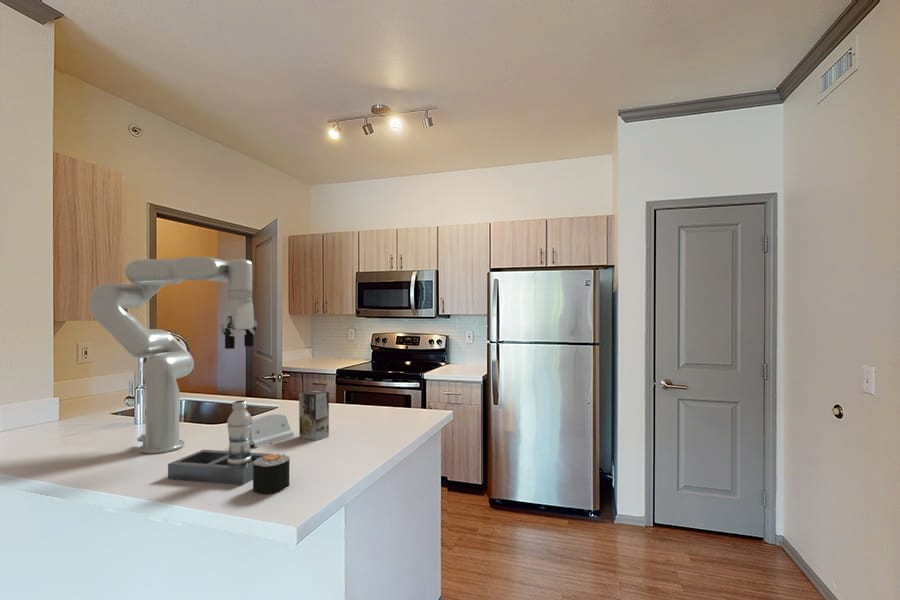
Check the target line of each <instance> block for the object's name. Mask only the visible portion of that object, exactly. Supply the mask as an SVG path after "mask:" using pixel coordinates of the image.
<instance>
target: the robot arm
mask: <svg viewBox="0 0 900 600" xmlns="http://www.w3.org/2000/svg"><path fill="white" fill-rule="evenodd" d="M124 276H125V277H126V278H127V280H128V281H129V282H131V283H130V284H129V283H128V284H127V283H120V282H119V283H117V282H107V283H102V284H99V285H97V286H96V287H95V288H94V289H93V290H92V291H91V293H90V295H89V300H88V304H89V309H90V312H91V314H92V316H93V318H94V319H95V320H96V321H97V322H98V323H99V324H100V325H101V326H102V327H103V328H104V329H105V330H106V331H108V333H109V334H111V336H112V337H113V338H114V339H115V340H116V341H117V342H118V344H119V345H121V347H123V349H124V350H125V351H127V353H128V354H129V355H131V356H132V357H133V358H137V359H143V358H144V359H146V358H147V359H146V360H145V362H144V364H143V365H142V376H143V381H144V386H145V433H143V434H141V435H140V436H139V437H138V438H137V439H136V440H137V442H139V443H141V442H142V445H141V446H140V447H139V452H140V453H142V454H148V455H150V454H161V453H167V452H172V451H176V450H178V449H179V450H180V449H181V448H183V447H185V440H182V439H180V405H181V404H180V393H181V392H180V388H179V385H178V382H177V380H178V379H182V378H184V377H186V376H188V375H190V374H191V373H192V372H193V370H194V367H195V361H194V358H193V356H192V355H191V353H190V352H189V351H188V350H187V349H186V348H185V347H184V346H183V345H182V344H181V343H180V342H179V340H178V339H176V338H175V336H173V334H171V333H170V332H168V331H166V330H164V329H159V328H151V329H149V328H147V327H146V326H144V325H143V324H142V323H141V322H140V321H139V320H138V319H137V318H136V317H135V316H134V315H133V314H131V313H129V312H128V311H126V309H127V310H128V309H129V310H130V309H131V310H132V309H138V308H141V307H142V306H143V305H145V304H146V303H147V302H149V300H150V299H151V298H152V297H153V296H154V295H156V294H157V293H158V292H159V291H160V290H161V289H162V288H163V287H164V286H165V285H178V284H180V283H181V282H182V281H211V282H217V283H227V300H225V304H224V310H223V311H224V312H223V321H221V322H220V325H219V326H220V328H221V332H222V333H223V337H224V349H225V350H233V349H235V346H236V345H235V344H236V343H235V342H236V336H235V333H236V331H243V332H244V333H245V334H244V341H243V342H244V347H254V345H255V343H254V339H255V338H254V337H255V334H256V330H257V327H258V326H257V325H258V321H257V320H255V313H254V303H253V262H252V261H251V260H248V259H243V258H242V259H241V258H237V259H236V258H233V259H230V260H225V259H220V258H216V257H215V258H214V257H210V256H185V257H176V258H155V259H154V258H153V259H151V258H150V259H149V258H147V259H136V260H132V261H130V262H128V263H127V265H126V266H125V268H124Z"/></svg>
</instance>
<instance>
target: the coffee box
mask: <svg viewBox="0 0 900 600" xmlns="http://www.w3.org/2000/svg"><path fill="white" fill-rule="evenodd" d="M298 395H299V396H298V398H299V399H298V401H299V402H298V405H299V406H298V408H299V409H298V410H299V411H298V415H299V417H298V419H299V420H298V421H299V423H298V425H299V431H298V432H299V433H298V434H299V435H298V436H299V438H303V439H308V440H313V441H318V440H321V439H326V438H329V437H330V432H329V431H330V428H329V427H330V426H329V425H330V421H329V420H330V418H329V417H330V415H329V414H330V411H329V409H330V402H329V401H330V397H329V396H330V392H329V391H323V390H314V389H312V390H306V391H301V392H299V393H298Z"/></svg>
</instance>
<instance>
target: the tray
mask: <svg viewBox="0 0 900 600" xmlns="http://www.w3.org/2000/svg"><path fill="white" fill-rule="evenodd" d="M270 454H271V453H264V452H263V453H262V452H251V457H252V462H251V463H249V464H247V465H245V466H231V465H227V460H228V455H229V450H216V449H215V450H213V449H202V450H199V451H197V452H194V453H192V454H189V455H187V456H185V457H182V458H178V459H177V460H174V461H172V462H169V463H168V464H167V479H168V480H176V479H179V480H178V481H189V480H191V482H192V481H193V482H201V481H204V482H203V483H205V482H206V483H214V482H216V483H217V484H227V483H232V484H231V485H240V484H244V485H246V484H247V483H249V482H251V481H253V462H254V461H256V460H257V458H258V459H259V458H260V457H261V458H262V457H265V455H266V456H267V455H270ZM250 480H251V481H250ZM248 481H249V482H248ZM245 483H246V484H245Z"/></svg>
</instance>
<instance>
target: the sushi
mask: <svg viewBox="0 0 900 600" xmlns="http://www.w3.org/2000/svg"><path fill="white" fill-rule="evenodd" d="M269 454H270V455H267V456H266V455H265V457H262V458H261V457H260V458H259V459H258V458H257V460H256V461H254V462H253V479H252V485H253V486H252V491H253V492H254V493H256V494H260V493H261V495H272V494H276V493H275V492H277V493H279V492H278V491H280V490H282V489H284V488H286V487H288V486H289V487H290V465H291V464H290V455H287V454H285V453H282V454H280V453H269ZM289 487H288V488H289ZM286 489H287V488H286ZM284 490H285V489H284ZM282 491H283V490H282ZM280 492H281V491H280ZM271 493H272V494H271Z"/></svg>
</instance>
